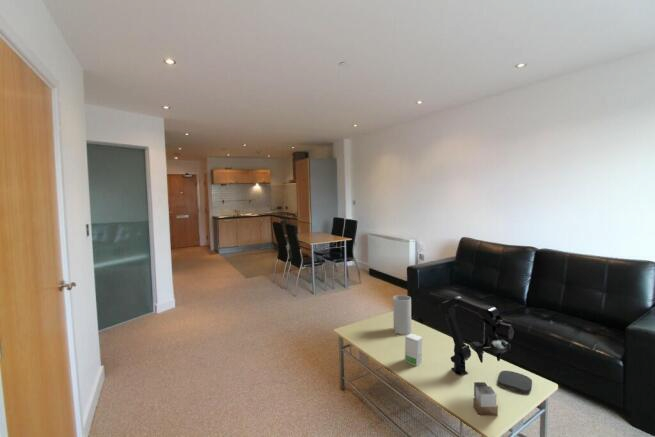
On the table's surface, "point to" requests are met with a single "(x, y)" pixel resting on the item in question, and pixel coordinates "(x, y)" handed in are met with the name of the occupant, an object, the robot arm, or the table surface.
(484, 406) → the grey brown block
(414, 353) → the skincare box
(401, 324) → the cylinder vase
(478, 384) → the plunger
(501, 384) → the media streaming box
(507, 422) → the table surface
